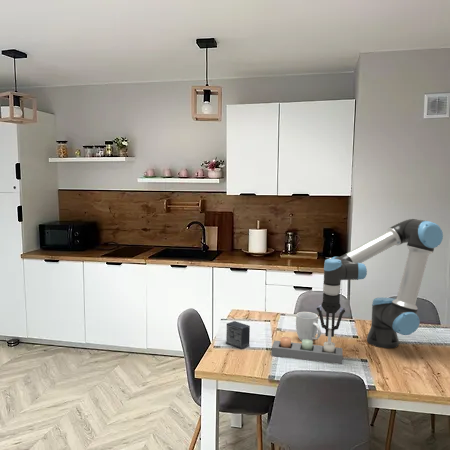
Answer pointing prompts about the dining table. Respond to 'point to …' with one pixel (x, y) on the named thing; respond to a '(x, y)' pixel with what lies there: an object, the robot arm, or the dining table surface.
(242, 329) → the small box
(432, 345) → the dining table surface
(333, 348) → the key ivory
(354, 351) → the dining table surface
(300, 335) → the mug
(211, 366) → the dining table surface
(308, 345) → the key sage
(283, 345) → the key terracotta
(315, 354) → the grey long block
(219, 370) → the dining table surface
